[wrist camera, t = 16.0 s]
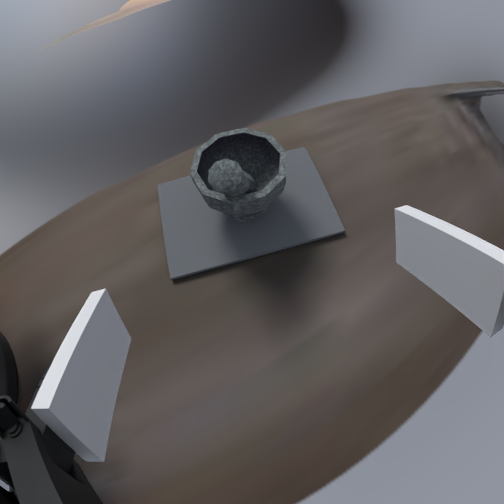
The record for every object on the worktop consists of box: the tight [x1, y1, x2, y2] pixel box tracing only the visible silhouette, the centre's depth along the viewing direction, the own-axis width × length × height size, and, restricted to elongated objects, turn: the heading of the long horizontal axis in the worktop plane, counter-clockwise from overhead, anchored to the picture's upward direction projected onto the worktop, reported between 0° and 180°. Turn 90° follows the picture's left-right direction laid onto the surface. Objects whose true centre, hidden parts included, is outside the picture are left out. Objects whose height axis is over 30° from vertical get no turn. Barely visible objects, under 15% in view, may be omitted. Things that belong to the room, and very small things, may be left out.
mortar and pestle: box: [190, 128, 287, 222], centre depth 28 cm, size 11×9×12 cm
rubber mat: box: [158, 147, 345, 280], centre depth 34 cm, size 20×13×1 cm, turn 105°
